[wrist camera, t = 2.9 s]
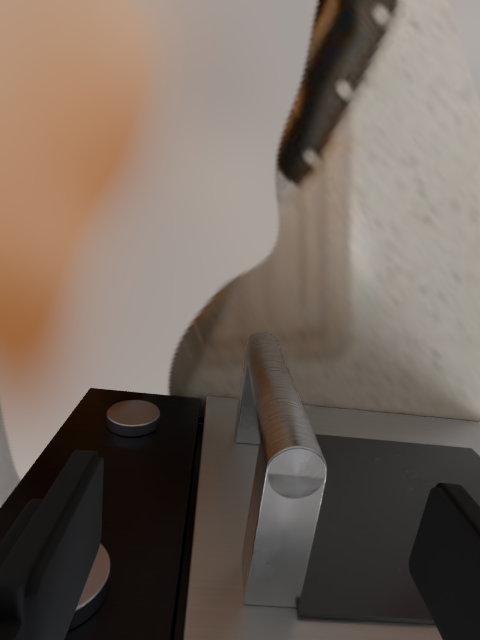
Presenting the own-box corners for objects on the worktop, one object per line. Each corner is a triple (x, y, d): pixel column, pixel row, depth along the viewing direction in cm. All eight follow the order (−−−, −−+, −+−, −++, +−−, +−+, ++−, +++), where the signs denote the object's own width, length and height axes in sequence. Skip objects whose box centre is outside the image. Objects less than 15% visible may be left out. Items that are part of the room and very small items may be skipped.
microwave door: (216, 310, 27) (196, 540, 8) (510, 342, 29) (1062, 600, 10) (204, 414, 29) (167, 787, 10) (478, 439, 31) (882, 805, 12)
